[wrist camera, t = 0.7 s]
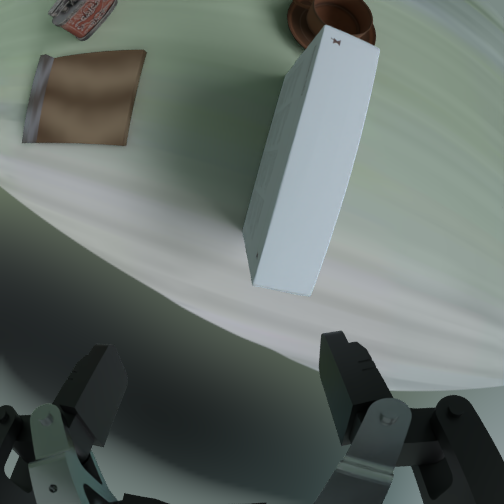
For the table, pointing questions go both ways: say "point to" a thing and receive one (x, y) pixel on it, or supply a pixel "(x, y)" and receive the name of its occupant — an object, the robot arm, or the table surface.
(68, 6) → the lighter
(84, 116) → the shelf board
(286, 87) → the skincare box
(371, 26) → the cup and saucer
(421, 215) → the table surface
